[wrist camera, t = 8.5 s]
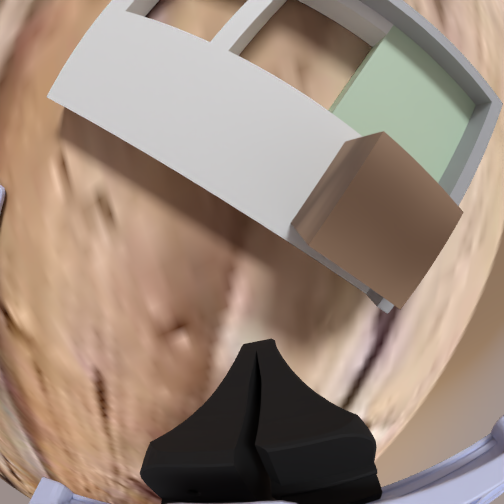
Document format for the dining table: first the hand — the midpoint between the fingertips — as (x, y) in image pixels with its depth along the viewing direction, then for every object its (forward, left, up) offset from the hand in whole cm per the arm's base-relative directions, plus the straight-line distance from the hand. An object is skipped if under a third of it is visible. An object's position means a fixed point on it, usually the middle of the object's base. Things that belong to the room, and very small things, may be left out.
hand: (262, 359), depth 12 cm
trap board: (+11, +7, -5) cm, 14 cm away
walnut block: (+7, 0, -3) cm, 8 cm away
